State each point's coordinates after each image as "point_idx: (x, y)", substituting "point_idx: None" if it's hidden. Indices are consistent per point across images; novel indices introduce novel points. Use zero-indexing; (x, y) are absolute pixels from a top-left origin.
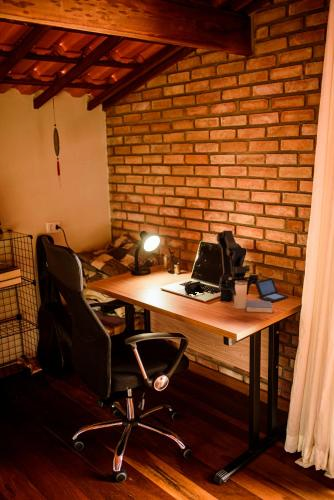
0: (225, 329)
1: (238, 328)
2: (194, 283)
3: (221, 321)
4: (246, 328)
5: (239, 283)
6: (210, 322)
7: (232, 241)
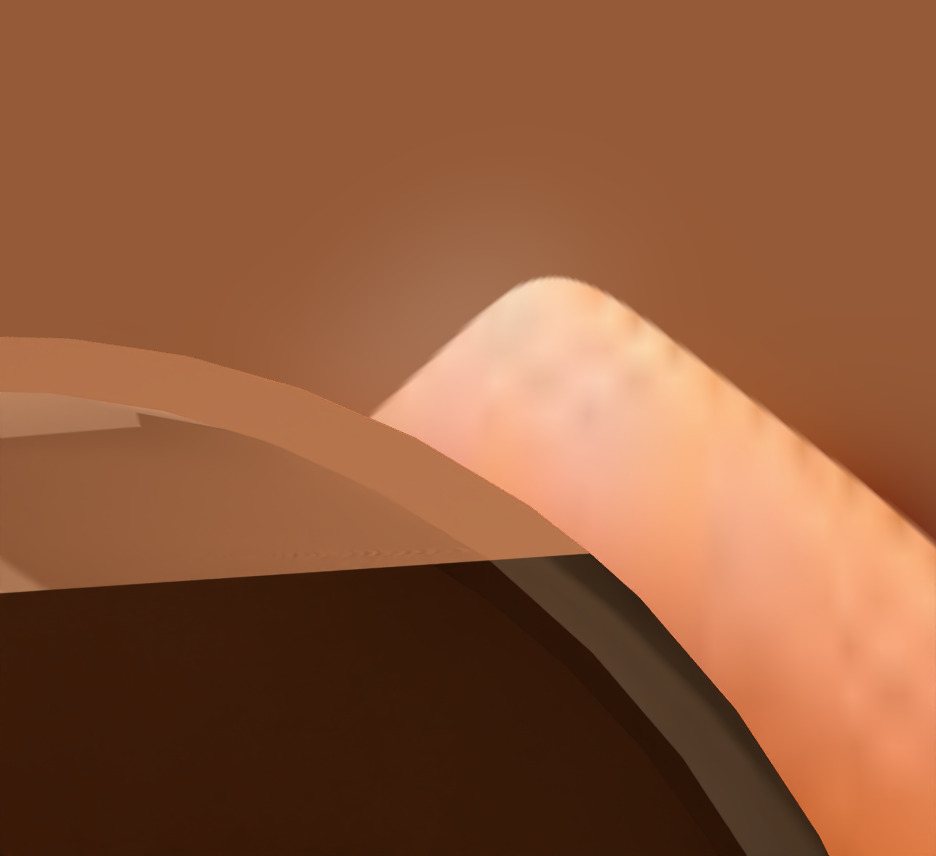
0: (685, 373)
1: (501, 409)
2: None
3: (746, 689)
4: (389, 411)
5: (365, 444)
6: (929, 639)
7: None
